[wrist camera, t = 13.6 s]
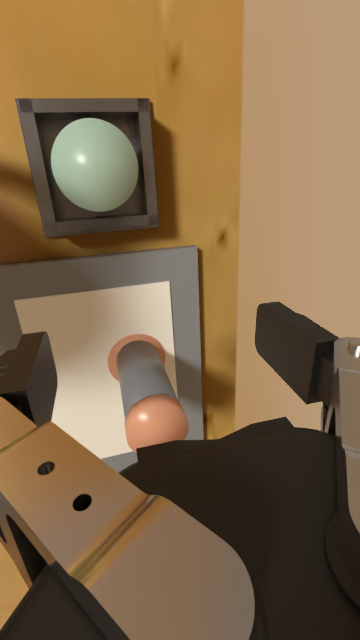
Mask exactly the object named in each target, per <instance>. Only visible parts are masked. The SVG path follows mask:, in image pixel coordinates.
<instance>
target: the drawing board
mask: <svg viewBox="0 0 360 640" xmlns="http://www.w3.org/2000/svg"><path fill="white" fill-rule="evenodd" d="M44 331H46V332H47V334H48V337H49V340H50V345H51V349H52V353H53V358H54V362H55V367H56V371H57V380H58V385H57V392H56V397H55V403H54V409H53V414H52V420H51V422H53V423H54V424H56V425H57V426H58V427H60V428H61V429H62V430H63V431H65V432H66V433H67V434H69V435H70V436H71V437H72V438H74V439H75V440H76V441H78V442H79V443H80V444H82V445H83V446H84V447H85V448H87V449H88V450H89V451H91V452H92V453H93V454H94V455H96V456H97V457H98V458H100V459H101V460H102V461H103V462H105V463H106V464H107V465H109V466H110V467H111V468H113V469H114V470H115V471H116V472H118V473H119V472H120V471H121V470H123V469H125V468H126V467H128V466H130V465H131V464H134V463H136V462H138V460H137V453H135V452H134V451H133V450H132V449H131V448H130V447H129V445H128V443H127V439H126V432H125V424H124V422H125V416H124V409H123V403H122V396H121V390H120V383H119V376H118V370H117V363H116V359H117V355H118V353H119V351H120V349H121V348H122V347H123V346H124V345H126V344H127V343H129V342H132V341H137V340H142V341H147V342H149V343H151V344H152V345H154V347H155V348H156V349H157V351H158V353H159V356H160V358H161V361H162V363H163V365H164V368H165V370H166V373H167V375H168V378H169V380H170V382H171V385H172V387H173V390H174V392H175V394H176V397H177V399H178V402H179V403H180V404H181V406H182V408H183V410H184V412H185V415H186V417H187V420H188V424H189V429H188V433H187V436H186V438H185V440H204V436H203V405H202V374H201V343H200V312H199V282H198V251H197V246H195V245H191V246H181V247H171V248H161V249H152V250H142V251H132V252H122V253H112V254H103V255H93V256H83V257H73V258H63V259H53V260H44V261H34V262H24V263H14V264H4V265H0V356H1V355H2V354H3V353H5V352H6V351H7V350H12V349H16V347H17V345H18V343H19V341H20V339H21V337H22V335H23V334H28V333H36V332H44Z"/></svg>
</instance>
